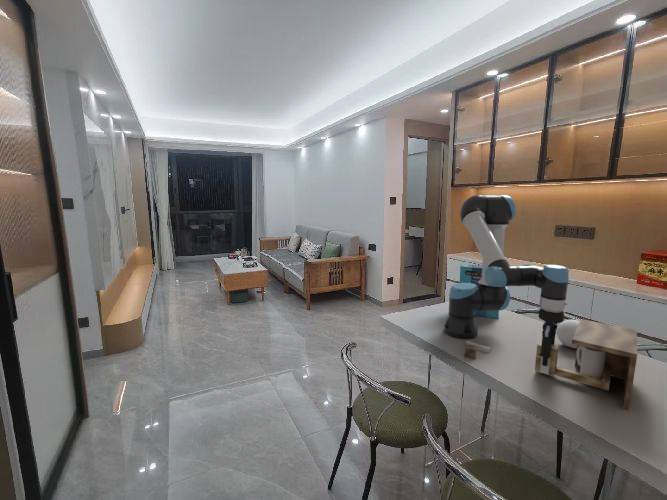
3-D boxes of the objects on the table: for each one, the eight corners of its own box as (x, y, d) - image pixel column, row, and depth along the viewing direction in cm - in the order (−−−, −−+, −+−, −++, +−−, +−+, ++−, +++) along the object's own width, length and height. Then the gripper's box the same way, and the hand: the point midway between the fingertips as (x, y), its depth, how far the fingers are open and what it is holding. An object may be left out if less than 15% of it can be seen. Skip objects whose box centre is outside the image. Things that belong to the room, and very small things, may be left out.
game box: (498, 315, 182) (502, 266, 178) (498, 319, 176) (502, 269, 172) (458, 310, 190) (461, 263, 186) (457, 314, 184) (460, 265, 180)
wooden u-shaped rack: (534, 370, 123) (537, 344, 121) (542, 356, 133) (544, 332, 131) (608, 392, 109) (612, 363, 107) (610, 375, 119) (614, 348, 117)
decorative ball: (593, 355, 136) (597, 327, 135) (559, 350, 141) (562, 323, 139) (583, 343, 148) (586, 317, 146) (552, 339, 152) (554, 314, 150)
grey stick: (465, 346, 146) (465, 342, 146) (467, 344, 147) (467, 340, 147) (488, 353, 139) (489, 349, 138) (490, 352, 140) (491, 347, 140)
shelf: (566, 391, 111) (572, 339, 108) (575, 364, 129) (580, 319, 126) (628, 411, 101) (637, 354, 98) (629, 379, 119) (636, 329, 116)
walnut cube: (464, 357, 135) (465, 348, 135) (465, 353, 139) (466, 344, 138) (475, 359, 134) (475, 350, 133) (475, 355, 137) (476, 346, 137)
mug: (607, 383, 116) (612, 351, 114) (590, 385, 115) (594, 352, 113) (583, 369, 126) (586, 338, 124) (566, 370, 125) (570, 339, 123)
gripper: (560, 318, 109) (553, 384, 113) (568, 305, 122) (561, 364, 126) (534, 313, 114) (528, 376, 118) (544, 301, 127) (538, 358, 131)
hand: (545, 370), depth 122 cm, fingers closed on wooden u-shaped rack, 4 cm apart
